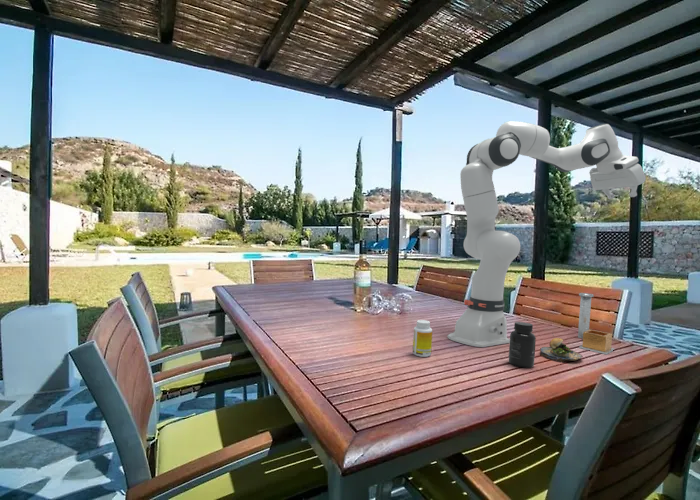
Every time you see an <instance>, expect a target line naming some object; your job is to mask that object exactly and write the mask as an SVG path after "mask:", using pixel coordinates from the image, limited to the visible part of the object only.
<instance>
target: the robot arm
mask: <svg viewBox="0 0 700 500" xmlns="http://www.w3.org/2000/svg"><path fill="white" fill-rule="evenodd" d="M550 142H551V135H550V132H549V130H548V129H546V128H545V127H542V126H541V125H537V124H534V123H529V122H525V121H516V120H515V121H514V120H509V121H506V122H505V121H504V122H503V123H502V124H501V125H500V126H499V128H498V129H497V131H496V134H495V136H494V137H491V138H487V139H484V140H483V141H481V142H479V143H476V144H475V145H473V146H472V147H471V148H470V149H469V151H468V153H467V154H466V163H465V166H463V168H462V169H461V170H460V189H461V194H462V195H461V196H462V198H463V199H462V200H463V204H464V208H465V209H464V210H465V214H466V223H467V224H466V226H467V227H466V235H465V238H464V239H463V249H464V251H465V253H466V254H467V255H469V256H471V258H474V259H477V260H480V261H479V265H478V268H477V269H476V272H474V273H473V275H472V277H471V292H470V297H469V299H464V300H463V301H464V302H463V305H465V306H467V308H466V310H465V311H464V312H463V313H462V314H461V315H460V316H459V317H458V319H457V320H456V321H455V326H454V331H453V332H450V333H449V334H447V337H446V338H447V339H449V340H450V341H453V342H456V343H460V344H463V345H467V346H470V347H471V346H472V347H476V348H485V347H486V348H487V347H492V346H497V345H504V344H505V345H506V344H510V338H508V331H507V330H508V324H507V323H508V322H507V318H506V315H505V314H504V310H505V300H504V290H505V282H506V276H507V273H508V270H509V268H510V265H511V263H512V262H513V261H514V260H515V259H516V258H517V256H518V255H519V254H520V251H521V243H520V240H519V238H518V237H517V235H515V234H513V233H511V232H508V231H506V230H505V231H504V230H496V218H497V216H498V214H499V212H500V208H499V203H498V199H497V193H496V190H495V185H494V181H493V173H494V171H495V170H498V169H501V168H503V167H508V166H509V165H512V164H513V163H514V162H515V161H516V160H517V159H518V158H519V156H520V155H521V156H524V157H529V158H532V159H534V160H537V161H540V162H543V163H546V164H550V165H551V166H553V167H554V168H555V169H557V171H560V172H561V173H568V172H572V171H576V170H581V169H585V168H590V167H592V168H591V169H590V170H589V173H588V174H589V176H590V177H589V179H590V184H591V186H592V188H593V190H594V191H602V193H604V194H605V196H607V198H608V200H612V199H614V198H615V197H616V196H615V194H614V193H612V192H611V191H610V190H611V189H621V188H626V187H627V188H629V189H630V192H629V193H628V195H629V197H630V198H635V197H637V196H638V192H637V189H638V186H639V185H642V184H643V183H645V182H646V180H647V178H646V174H645V171H644V169H643V167H642V166H641V164H639V163H638V162H639V161H640V160H639V158H638V156H631V155H625V154H623V152H622V150H620V148H619V141H618V139H617V136H616V133H615V131H614V129H613V127H611V125H610V124H609V123H601V124H598V125H595V126H591V127H589V128H587V129H586V130H585V134H584V136H583V139H582V140H581V141H580V142H579V143H575V144H572V145H568V146H563V147H559V148H557V147H554V146H553V145H550ZM594 166H595V167H594Z"/></svg>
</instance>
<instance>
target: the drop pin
mask: <svg viewBox="0 0 700 500" xmlns="http://www.w3.org/2000/svg"><path fill="white" fill-rule="evenodd" d="M578 296H579V297H580V301H579V314H578V315H579V317H578V330H577V331H578V332H577V338H578V339H580V338H582V339H581V340H583V332H585V331H587V330H590V321H591V306H592V298H594V294H593V293H586V292H579V293H578Z"/></svg>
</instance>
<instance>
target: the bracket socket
mask: <svg viewBox="0 0 700 500" xmlns="http://www.w3.org/2000/svg"><path fill="white" fill-rule="evenodd" d="M612 343H613V333H610V332H604V331H599V330H593V329H590V328H589V330H587V331H585V332H583V339H582V344H581V345H579V346H578V347H579V349H581V350H585V349H586V350H585V351H589V350H590V351H591V352H594V353H598V354H603V355H609V354H610V353H612V352H614V351H615V348H613V347H612ZM613 350H614V351H613Z"/></svg>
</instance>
